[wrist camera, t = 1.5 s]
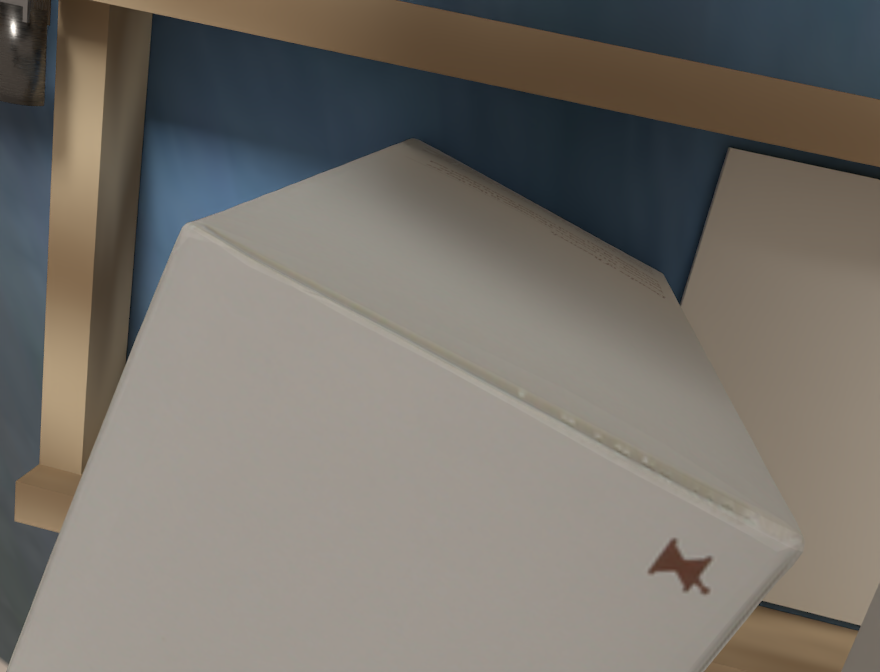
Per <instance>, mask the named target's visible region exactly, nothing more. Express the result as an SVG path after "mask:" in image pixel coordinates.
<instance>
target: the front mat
mask: <svg viewBox="0 0 880 672" xmlns="http://www.w3.org/2000/svg"><path fill="white" fill-rule="evenodd" d="M680 306H681V308H682V310H683V312H684V314H685V316H686V318H687V320H688V321H689V323H690V325H691V327H692V329H693V331H694V332H695V334H696V336H697V338H698V340H699V342H700V344H701V346H702V348H703V349H704V351H705V353H706V355H707V357H708V359H709V361H710V362H711V364H712V366H713V368H714V370H715V372H716V374H717V376H718V378H719V380H720V381H721V383H722V385H723V387H724V389H725V391H726V393H727V395H728V397H729V398H730V400H731V402H732V404H733V406H734V408H735V409H736V411H737V413H738V415H739V417H740V419H741V420H742V422H743V424H744V426H745V428H746V430H747V431H748V433H749V435H750V437H751V438H752V440H753V442H754V444H755V446H756V448H757V450H758V452H759V454H760V456H761V458H762V460H763V462H764V464H765V466H766V467H767V469H768V471H769V473H770V475H771V477H772V479H773V480H774V482H775V484H776V486H777V488H778V489H779V491H780V493H781V495H782V497H783V498H784V500H785V502H786V504H787V506H788V507H789V509H790V511H791V513H792V514H793V516H794V518H795V520H796V522H797V523H798V526H799V528H800V530H801V533H802V535H803V537H804V539H805V545H804V551H803V553H802V554H801V556H800V557H799V558H798V560H797V561H796V562H795V564H794V565H793V566H792V567H791V568H790V569H789V570H788V571H787V572H786V574H785V575H784V576H783V577H782V578H781V579H780V580H779V581H778V582H777V583H776V584H775V585H774V587H773V588H772V589H771V590H770V591H769V593H768V594H767V595H766V596H765V597H764V599H763V600H762V601H765V602H769V603H773V604H777V605H781V606H785V607H789V608H793V609H797V610H801V611H805V612H809V613H813V614H817V615H821V616H825V617H829V618H833V619H837V620H841V621H845V622H849V623H852V624H856V625H860V626H861V624H862V622H863V620H864V617H865V615H866V613H867V611H868V608H869V606H870V604H871V601H872V599H873V597H874V594H875V592H876V590H877V587H878V585H879V583H880V179H875V178H871V177H866V176H861V175H857V174H852V173H847V172H842V171H838V170H833V169H828V168H824V167H819V166H814V165H810V164H805V163H800V162H795V161H791V160H786V159H781V158H777V157H772V156H767V155H763V154H758V153H753V152H748V151H744V150H739V149H734V148H730V147H728V151H727V154H726V157H725V160H724V164H723V167H722V170H721V173H720V177H719V180H718V183H717V186H716V189H715V193H714V196H713V199H712V202H711V206H710V209H709V212H708V215H707V219H706V222H705V225H704V228H703V231H702V235H701V238H700V241H699V244H698V248H697V251H696V254H695V257H694V261H693V264H692V267H691V270H690V273H689V277H688V280H687V283H686V286H685V290H684V293H683V296H682V299H681V303H680Z"/></svg>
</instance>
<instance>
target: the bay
mask: <svg viewBox="0 0 880 672" xmlns="http://www.w3.org/2000/svg"><path fill="white" fill-rule="evenodd" d="M153 13H154V14H159V15H164V16H168V17H173V18H178V19H183V20H187V21H192V22H197V23H202V24H206V25H211V26H216V27H220V28H225V29H230V30H235V31H239V32H244V33H249V34H253V35H258V36H263V37H268V38H272V39H277V40H282V41H287V42H291V43H296V44H301V45H305V46H310V47H315V48H320V49H324V50H329V51H334V52H338V53H343V54H348V55H353V56H357V57H362V58H367V59H372V60H376V61H381V62H386V63H390V64H395V65H400V66H405V67H409V68H414V69H419V70H423V71H428V72H433V73H438V74H442V75H447V76H452V77H457V78H461V79H466V80H471V81H475V82H480V83H485V84H490V85H494V86H499V87H504V88H509V89H513V90H518V91H523V92H527V93H532V94H537V95H542V96H546V97H551V98H556V99H560V100H565V101H570V102H575V103H579V104H584V105H589V106H594V107H598V108H603V109H608V110H612V111H617V112H622V113H627V114H631V115H636V116H641V117H645V118H650V119H655V120H660V121H664V122H669V123H674V124H679V125H683V126H688V127H693V128H697V129H702V130H707V131H712V132H716V133H721V134H726V135H730V136H735V137H740V138H745V139H749V140H754V141H759V142H764V143H768V144H773V145H778V146H782V147H787V148H792V149H797V150H801V151H806V152H811V153H816V154H820V155H825V156H830V157H834V158H839V159H844V160H849V161H853V162H858V163H863V164H867V165H872V166H877V167H880V100H879V99H874V98H869V97H864V96H859V95H855V94H850V93H845V92H840V91H835V90H830V89H825V88H821V87H816V86H811V85H806V84H801V83H796V82H791V81H786V80H782V79H777V78H772V77H767V76H762V75H757V74H752V73H748V72H743V71H738V70H733V69H728V68H723V67H718V66H714V65H709V64H704V63H699V62H694V61H689V60H684V59H680V58H675V57H670V56H665V55H660V54H655V53H650V52H646V51H641V50H636V49H631V48H626V47H621V46H616V45H611V44H607V43H602V42H597V41H592V40H587V39H582V38H577V37H573V36H568V35H563V34H558V33H553V32H548V31H543V30H539V29H534V28H529V27H524V26H519V25H514V24H509V23H505V22H500V21H495V20H490V19H485V18H480V17H475V16H471V15H466V14H461V13H456V12H451V11H446V10H441V9H437V8H432V7H427V6H422V5H417V4H412V3H407V2H402V1H398V0H59V6H58V30H57V54H56V78H55V102H54V126H53V150H52V174H51V198H50V223H49V247H48V271H47V295H46V319H45V343H44V367H43V391H42V415H41V439H40V463H39V465H38V466H36V467H35V468H34V469H32V470H31V471H29V472H28V473H27V474H25V475H24V476H23V477H21V478H20V479H18V480H17V481H16V490H15V521H17V522H20V523H24V524H28V525H32V526H36V527H39V528H43V529H47V530H51V531H54V532H58V533H60V530H61V528H62V525H63V523H64V520H65V517H66V515H67V512H68V510H69V507H70V505H71V502H72V500H73V497H74V495H75V492H76V490H77V487H78V485H79V482H80V479H81V477H82V474H83V472H84V469H85V467H86V464H87V462H88V459H89V457H90V454H91V452H92V449H93V446H94V444H95V441H96V439H97V436H98V434H99V431H100V429H101V426H102V424H103V421H104V419H105V416H106V414H107V411H108V408H109V406H110V403H111V401H112V398H113V396H114V393H115V391H116V388H117V386H118V383H119V380H120V378H121V375H122V373H123V370H124V368H125V365H126V353H127V340H128V327H129V314H130V301H131V288H132V275H133V262H134V249H135V236H136V223H137V210H138V197H139V184H140V171H141V158H142V145H143V132H144V119H145V106H146V93H147V80H148V67H149V54H150V41H151V29H152V16H153ZM857 634H858V631H857V630H853V629H849V628H845V627H841V626H837V625H833V624H829V623H825V622H821V621H817V620H813V619H809V618H805V617H802V616H798V615H794V614H790V613H786V612H782V611H778V610H774V609H770V608H766V607H762V606H757V607H756V609H755V610H754V611H753V612H752V614H751V615H750V616H749V617H748V619H747V620H746V621H745V622H744V623H743V625H742V626H741V627H740V628H739V630H738V631H737V632H736V633H735V634H734V636H733V637H732V638H731V639H730V640H729V642H728V643H727V644H726V645H725V647H724V648H723V649H722V650H721V651H720V653H719V654H718V655H717V656H716V657H715V659H714V660H713V661H712V662H711V664H710V665H709V666H708V667H707V669H706V670H705V671H704V672H841V671H842V668H843V666H844V664H845V661H846V659H847V657H848V654H849V652H850V650H851V648H852V645H853V643H854V641H855V638H856V636H857Z"/></svg>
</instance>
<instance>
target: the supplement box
mask: <svg viewBox="0 0 880 672" xmlns="http://www.w3.org/2000/svg"><path fill="white" fill-rule="evenodd" d="M804 545H805V539H804V537H803V535H802V533H801V530H800V528H799V526H798V523H797V522H796V520H795V518H794V516H793V514H792V513H791V511H790V509H789V507H788V506H787V504H786V502H785V500H784V498H783V497H782V495H781V493H780V491H779V489H778V488H777V486H776V484H775V482H774V480H773V479H772V477H771V475H770V473H769V471H768V469H767V467H766V466H765V464H764V462H763V460H762V458H761V456H760V454H759V452H758V450H757V448H756V446H755V444H754V442H753V440H752V438H751V437H750V435H749V433H748V431H747V430H746V428H745V426H744V424H743V422H742V420H741V419H740V417H739V415H738V413H737V411H736V409H735V408H734V406H733V404H732V402H731V400H730V398H729V397H728V395H727V393H726V391H725V389H724V387H723V385H722V383H721V381H720V380H719V378H718V376H717V374H716V372H715V370H714V368H713V366H712V364H711V362H710V361H709V359H708V357H707V355H706V353H705V351H704V349H703V348H702V346H701V344H700V342H699V340H698V338H697V336H696V334H695V332H694V331H693V329H692V327H691V325H690V323H689V321H688V320H687V318H686V316H685V314H684V312H683V310H682V308H681V306H680V305H679V303H678V301H677V299H676V297H675V295H674V293H673V291H672V289H671V288H670V286H669V284H668V282H667V280H666V278H665V276H664V275H663V273H661V272H659V271H657V270H656V269H654V268H652V267H650V266H648V265H646V264H644V263H643V262H641V261H639V260H637V259H635V258H633V257H631V256H630V255H628V254H626V253H624V252H623V251H621V250H619V249H617V248H615V247H613V246H611V245H610V244H608V243H606V242H604V241H602V240H601V239H599V238H597V237H595V236H593V235H592V234H590V233H588V232H586V231H584V230H583V229H581V228H579V227H577V226H575V225H574V224H572V223H570V222H568V221H566V220H565V219H563V218H561V217H559V216H557V215H556V214H554V213H552V212H550V211H548V210H547V209H545V208H543V207H541V206H539V205H538V204H536V203H534V202H532V201H530V200H529V199H527V198H525V197H523V196H521V195H519V194H518V193H516V192H514V191H512V190H510V189H509V188H507V187H505V186H503V185H501V184H500V183H498V182H496V181H494V180H492V179H491V178H489V177H487V176H485V175H483V174H482V173H480V172H478V171H476V170H474V169H472V168H471V167H469V166H467V165H465V164H463V163H462V162H460V161H458V160H456V159H454V158H452V157H451V156H449V155H447V154H445V153H443V152H441V151H439V150H438V149H436V148H434V147H432V146H430V145H428V144H426V143H424V142H422V141H420V140H418V139H414V138H412V139H408V140H406V141H403V142H401V143H398V144H395V145H392V146H389V147H387V148H384V149H382V150H380V151H377V152H374V153H372V154H369V155H367V156H364V157H362V158H359V159H356V160H354V161H351V162H349V163H346V164H344V165H341V166H339V167H336V168H333V169H331V170H328V171H325V172H323V173H320V174H317V175H315V176H312V177H310V178H307V179H305V180H302V181H300V182H297V183H294V184H291V185H289V186H286V187H284V188H282V189H279V190H277V191H274V192H271V193H268V194H265V195H263V196H261V197H258V198H256V199H253V200H251V201H248V202H245V203H242V204H239V205H237V206H235V207H232V208H230V209H227V210H225V211H222V212H219V213H216V214H213V215H210V216H207V217H205V218H202V219H199V220H196V221H192V222H188V223H186V224H185V225H184V226H183V227H182V229H181V231H180V234H179V236H178V238H177V240H176V243H175V245H174V247H173V250H172V252H171V255H170V257H169V260H168V262H167V264H166V267H165V269H164V272H163V274H162V277H161V279H160V281H159V284H158V286H157V289H156V291H155V293H154V296H153V298H152V301H151V303H150V306H149V308H148V311H147V313H146V316H145V319H144V321H143V323H142V326H141V328H140V330H139V332H138V335H137V337H136V340H135V342H134V345H133V347H132V350H131V352H130V355H129V357H128V360H127V363H126V365H125V368H124V370H123V373H122V375H121V378H120V380H119V383H118V386H117V388H116V391H115V393H114V396H113V398H112V401H111V403H110V406H109V408H108V411H107V414H106V416H105V419H104V421H103V424H102V426H101V429H100V431H99V434H98V436H97V439H96V441H95V444H94V446H93V449H92V452H91V454H90V457H89V459H88V462H87V464H86V467H85V469H84V472H83V474H82V477H81V479H80V482H79V485H78V487H77V490H76V492H75V495H74V497H73V500H72V502H71V505H70V507H69V510H68V512H67V515H66V517H65V520H64V523H63V525H62V528H61V530H60V533H59V535H58V538H57V540H56V543H55V545H54V548H53V550H52V553H51V556H50V558H49V561H48V563H47V566H46V569H45V571H44V574H43V577H42V579H41V582H40V585H39V587H38V590H37V592H36V595H35V598H34V600H33V603H32V606H31V608H30V611H29V614H28V616H27V619H26V621H25V624H24V626H23V629H22V632H21V634H20V637H19V639H18V642H17V644H16V647H15V649H14V652H13V655H12V657H11V660H10V663H9V666H8V668H7V671H6V672H704V671H705V670H706V669H707V667H708V666H709V665H710V664H711V662H712V661H713V660H714V659H715V657H716V656H717V655H718V654H719V653H720V651H721V650H722V649H723V648H724V647H725V645H726V644H727V643H728V642H729V640H730V639H731V638H732V637H733V636H734V634H735V633H736V632H737V631H738V630H739V628H740V627H741V626H742V625H743V623H744V622H745V621H746V620H747V619H748V617H749V616H750V615H751V614H752V612H753V611H754V610H755V609H756V607H757V606H758V605H759V604H760V602H761V601H762V600H763V599H764V597H765V596H766V595H767V594H768V593H769V591H770V590H771V589H772V588H773V587H774V585H775V584H776V583H777V582H778V581H779V580H780V579H781V578H782V577H783V576H784V575H785V574H786V572H787V571H788V570H789V569H790V568H791V567H792V566H793V565H794V564H795V562H796V561H797V560H798V558H799V557H800V556H801V554H802V553H803V551H804Z"/></svg>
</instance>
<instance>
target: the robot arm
mask: <svg viewBox="0 0 880 672" xmlns="http://www.w3.org/2000/svg"><path fill="white" fill-rule="evenodd" d="M841 672H880V583H879V585H878V587H877V590H876V592H875V594H874V597H873V599H872V601H871V604H870V606H869V608H868V611H867V613H866V615H865V617H864V620H863V622H862V624H861V627H860V629H859V631H858V634H857V636H856V638H855V641H854V643H853V645H852V648H851V650H850V652H849V654H848V657H847V659H846V661H845V664H844V666H843V668H842V671H841Z"/></svg>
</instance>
